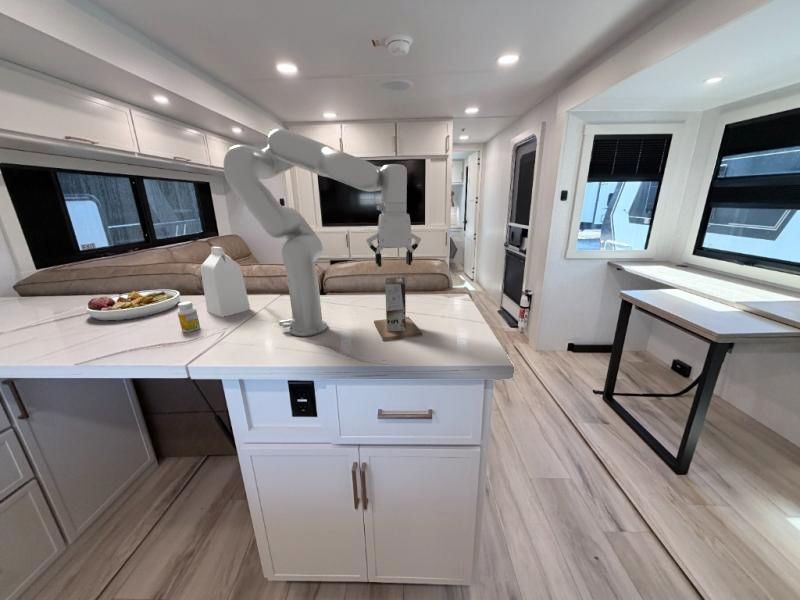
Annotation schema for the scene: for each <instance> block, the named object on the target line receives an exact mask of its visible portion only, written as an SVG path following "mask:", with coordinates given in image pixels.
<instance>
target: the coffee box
mask: <svg viewBox="0 0 800 600" xmlns="http://www.w3.org/2000/svg"><path fill="white" fill-rule="evenodd" d="M384 285H385V286H384V287H385V288H384V289H385V318H386V322H387V331H405V322H406V317H407V316H406V312H407V311H406V307H407V305H406V302H407V301H406V280H405V277H403V276H399V277H386V278H385V283H384Z"/></svg>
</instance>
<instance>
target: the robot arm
mask: <svg viewBox="0 0 800 600" xmlns="http://www.w3.org/2000/svg"><path fill="white" fill-rule="evenodd" d="M266 144H267V147H265V148H263V149H259V148H258V147H254V146H251V145H247V144H236V145H233V146H231V147H229V149H228V150H227V151H226V153H225V155H224V158H223V173H224V177H225V180H226V182H227V183H228V186H229V187H230V189H231V190H232V191H233V193H234V194H235V195H236V196H237V198H238V199H239V200H240V201H241V202H242V203H243V204H244V206H245V207H246V208H247V210H248V211H249V212H250V213H251V215H252V217H253V218H254V219H255V220H256V221H257V222H258V224H259V225H260V227H261V228H262V229H263V230H264V232H266V234H267V235H268V236H270V237H271V238H274V239H283V238H285V240H286V241H285V242H284V244H283V245H282V247H281V259H282V263H283V266H284V269H285V274H286V279H287V285H288V286H287V287H288V291H289V301H290V307H291V315H292V316H291V318H288V319H282V320H279V324H278V325H279V326H280V327H282V328H288V327H289V328H288V329H289V333H290V334H291V335H293V336H296V337H309V336H315V335H319V334H321V333H323V332H325V331H326V330H327V329H328V323H327V322H326V321H325V320H323V314H322V305H321V304H322V303H321V296H320V295H321V294H320V285H319V277H318V273H317V268H316V265H315V261H317V260H318V259H319V258H320V257H321V255H322V253H323V249H324V247H323V243H322V241H321V239H320V238H319V236H318V235H317V234H316V232H315V231H314V229H313V228H312V226H310V224H309V223H308V222H307V221H306V218H304V217H303V215H302V214H301V213H300V212H299V211H298V210H296V209H294V208H292V207H289V206H283V205H282V204H281V203H280V202H279V201H278V200H277V199H276V198H275V197H274V195H273V193H272V192H271V190H269V189H268V187H266V186H265V185H264V184H263V183H262V182H261V181H260V180H269V179H272V178H275V177H277V176H278V175H281V174H283V173H285V172H287V171H289V170H291V169H293V168H295V167H297V168H300V169H302V170H304V171H305V170H306V171H308V172H310V173H312V174H315V175H317V176H321V177H326V178H329V179H332V180H335V181H338V182H339V183H343V184H345V185H347V186H350V187H352V188H355V189H356V190H361V191H363V192H369V193H371V192H377V191H381V196H380V197H381V198H380V199H381V202H380V204H379V205H378V204H377V205H376V210H377V211H380V214H379V216H378V222H377V233H375V234H373V235H372V236H370V237H368V238H366V240H365V241H366V243H367V245H368V247H369V248H370V249H371V250H372V251H373V252H374V253H375V257H374V258H375V260H374V261H375V264H377V267H379V268H380V267H382V253H381V252H382V250H383V249H397V248H398V249H399V248H401V249H402V248H405V249H406V254H405V260H406V261H405V264H407V265H408V266H412V263H413V254H414V252H415V250H416V249H417V248H418V247H419V244H420V242H422V241H421V239H422V238H421V237H419V236H417V235H416V234H414V233H413V232H412V224H411V217H410V213H407V198H408V196H407V193H408V192H407V191H408V190H407V186H408V185H407V184H408V180H407V179H408V176H407V175H408V171H407V167H406V166H405V165H403V164H399V163H390V164H389V163H388V164H383V165H382V166H378V165H377V166H376V165H374V164H373V163H371V162H369V161H367V160H365V159H362V158H360V157H358V156H354V155H352V154H349V153H347V152H344V151H341V150H339V149H336V148H333V146H330V145H328V144H325V143H323V142H320V141H317V140H315V139H312V138H309V137H307V136H304V135H302V134H299V133H296V132H295V131H292V130H289V129H286V128H280V127H279V128H275V129H273V130H272V131H270V132H269V134H268V136H267V140H266ZM412 239H413V240H414V242H413V243H412V241H413V240H412ZM375 240H377V246H375V245H374V243H373V242H374V241H375Z"/></svg>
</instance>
